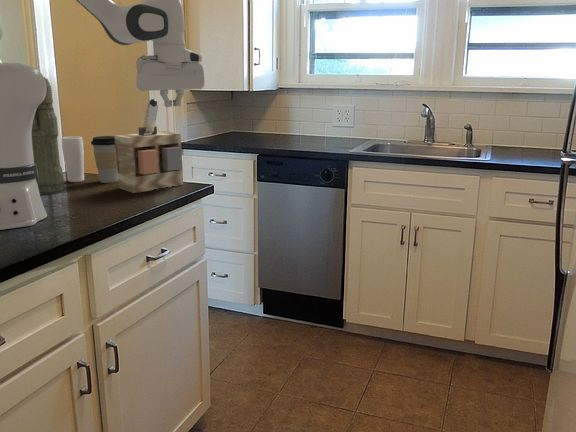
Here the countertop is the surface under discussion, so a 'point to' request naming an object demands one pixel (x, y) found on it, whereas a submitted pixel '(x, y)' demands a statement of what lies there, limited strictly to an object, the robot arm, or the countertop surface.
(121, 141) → the console
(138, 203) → the countertop surface
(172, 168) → the key charcoal
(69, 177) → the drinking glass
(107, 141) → the coffee cup
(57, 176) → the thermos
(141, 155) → the key terracotta
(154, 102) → the toggle lever
